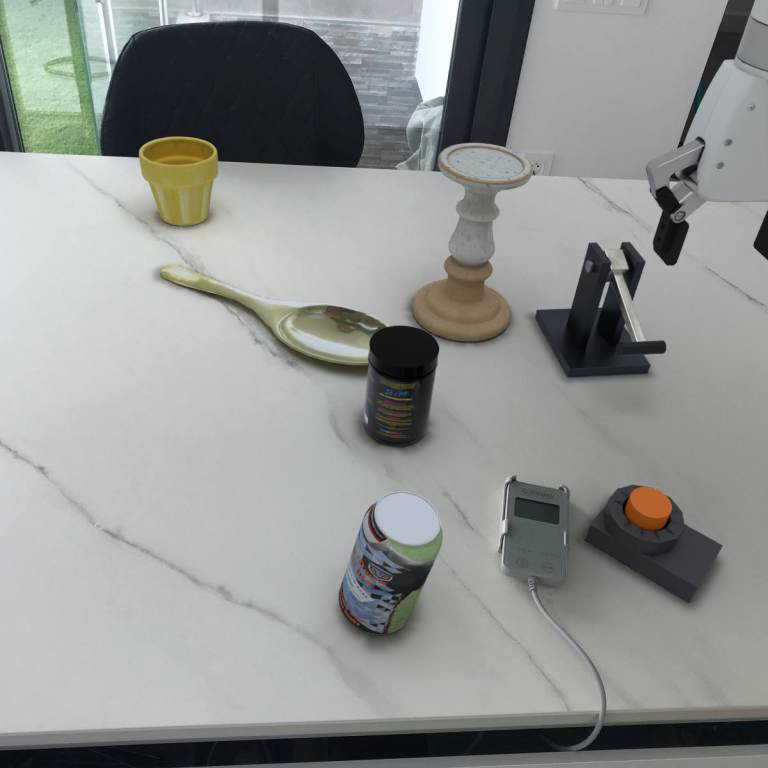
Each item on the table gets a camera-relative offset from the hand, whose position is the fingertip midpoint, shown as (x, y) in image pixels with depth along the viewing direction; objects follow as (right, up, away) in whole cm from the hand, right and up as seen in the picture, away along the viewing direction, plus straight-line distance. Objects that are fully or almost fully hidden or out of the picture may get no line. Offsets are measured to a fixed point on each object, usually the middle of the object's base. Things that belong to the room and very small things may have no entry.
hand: (714, 256), depth 67 cm
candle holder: (-19, -2, +30) cm, 36 cm away
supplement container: (-28, -16, +13) cm, 34 cm away
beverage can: (-29, -30, -4) cm, 42 cm away
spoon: (-42, -3, +27) cm, 50 cm away
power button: (-6, -23, +1) cm, 23 cm away
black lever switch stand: (-4, -6, +27) cm, 28 cm away
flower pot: (-57, +13, +44) cm, 74 cm away
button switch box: (-5, -26, +3) cm, 27 cm away
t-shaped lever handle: (-2, -3, +18) cm, 19 cm away
